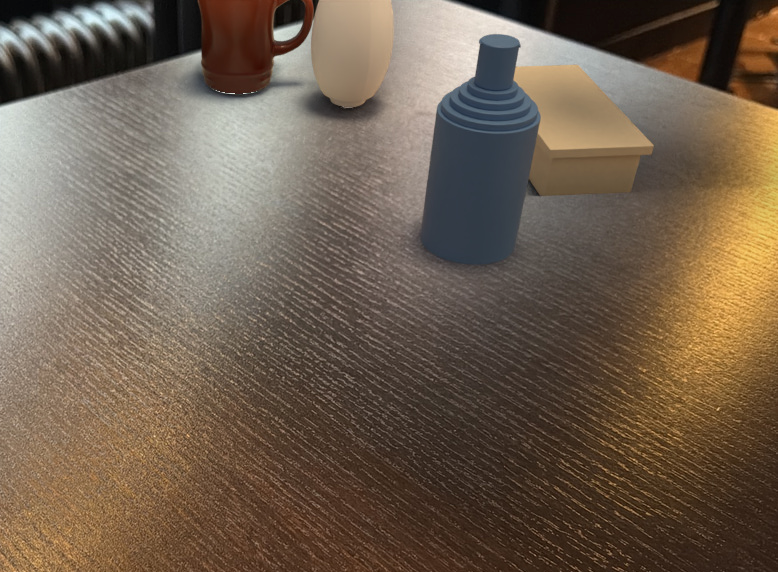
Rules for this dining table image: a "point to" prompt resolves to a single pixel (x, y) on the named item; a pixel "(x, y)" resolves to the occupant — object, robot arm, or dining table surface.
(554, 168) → the sill
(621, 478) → the dining table surface
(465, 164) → the bottle
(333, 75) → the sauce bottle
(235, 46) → the mug
